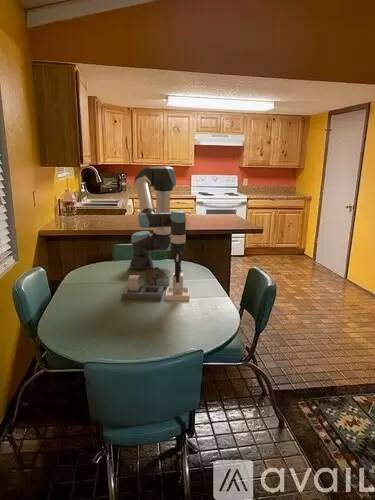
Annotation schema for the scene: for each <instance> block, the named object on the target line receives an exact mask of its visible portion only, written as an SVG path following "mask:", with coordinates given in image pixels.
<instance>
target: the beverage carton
mask: <svg viewBox="0 0 375 500" xmlns="http://www.w3.org/2000/svg"><path fill="white" fill-rule="evenodd" d="M145 276H146V277H145V278H146V279H147V281H149V282H150V283H151V285H152V286H164V288H167V287H170V277H169V276H168V275H167V274H166V273H165V272H164V271H163V270H162V269H160V267H158V266H157V267H153V268H149V269H146V271H145Z"/></svg>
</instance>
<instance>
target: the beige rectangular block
mask: <svg viewBox="0 0 375 500" xmlns="http://www.w3.org/2000/svg"><path fill="white" fill-rule="evenodd" d="M128 285H129V292H140V285H141V275H139V274H135V275H134V274H129V276H128Z"/></svg>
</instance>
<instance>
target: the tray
mask: <svg viewBox="0 0 375 500" xmlns="http://www.w3.org/2000/svg"><path fill="white" fill-rule="evenodd" d="M190 290H191V287H190V286H183V295H173V286H169V287H166V291H165V297H164V298H165V301H190V293H191V291H190Z"/></svg>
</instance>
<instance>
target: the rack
mask: <svg viewBox="0 0 375 500" xmlns="http://www.w3.org/2000/svg"><path fill="white" fill-rule="evenodd" d="M164 289H165V287H164V286H154V285H141V284H140V292H129V284H128V285H127V284H125V287H124V289H123V290H122V292H121V300H134V301H135V300H139V301H140V300H142V301H143V300H144V301H145V300H146V301H162V299H163V296H164V291H165V290H164Z"/></svg>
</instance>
